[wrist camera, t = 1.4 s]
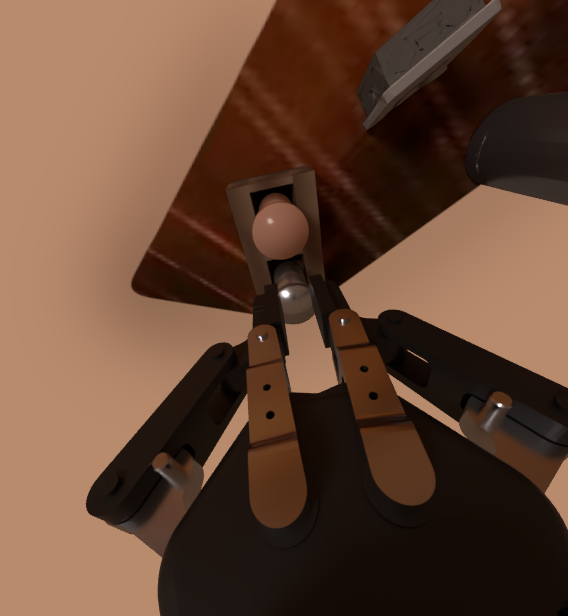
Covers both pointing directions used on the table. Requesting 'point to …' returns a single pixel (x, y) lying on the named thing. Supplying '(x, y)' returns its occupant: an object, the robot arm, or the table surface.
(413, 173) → the table surface
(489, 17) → the electrical switch
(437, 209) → the table surface
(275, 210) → the terracotta plug
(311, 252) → the socket board
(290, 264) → the grey plug
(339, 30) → the table surface
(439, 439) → the robot arm
